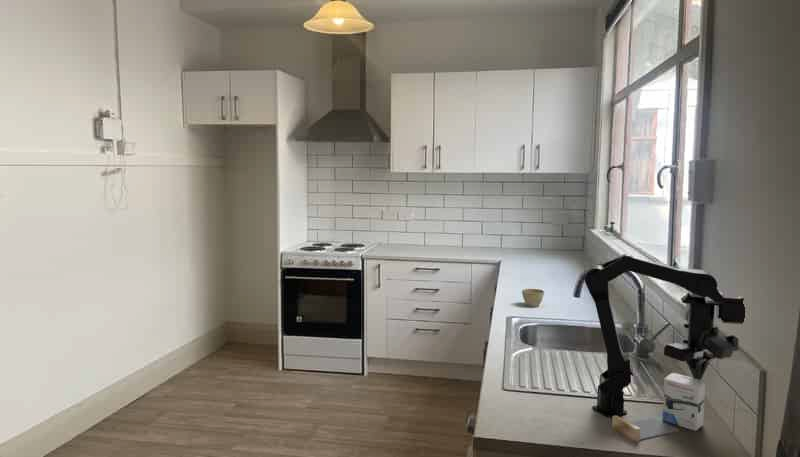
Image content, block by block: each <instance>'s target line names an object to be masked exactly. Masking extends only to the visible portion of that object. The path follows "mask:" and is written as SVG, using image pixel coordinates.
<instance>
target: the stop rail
mask: <svg viewBox="0 0 800 457" xmlns="http://www.w3.org/2000/svg"><path fill="white" fill-rule="evenodd" d="M611 418H612V422H611V428H612V429H614V430H615V431H617V432H619V433H621V434H622V435H624V436H625V437H628V438H630V439H631V440H633V441H635V442H639V441H641V440H640V431H641V428H639V427H637V426H635V425H633V424H631V423H630V421H628V420H625V419H624V418H622V417H620V416H619V415H616V416H612V417H611Z"/></svg>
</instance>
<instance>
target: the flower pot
mask: <svg viewBox="0 0 800 457" xmlns="http://www.w3.org/2000/svg"><path fill="white" fill-rule="evenodd" d="M521 294H522V298H523V300H524V303H525V305H526V306H527V307H529V308H537V307H539V306H540V304H541V303H542V301H543V297H544V296H545V295H544V294H545V291H544V290H542V289H539V288H524V289H522V290H521Z"/></svg>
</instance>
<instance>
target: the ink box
mask: <svg viewBox="0 0 800 457" xmlns="http://www.w3.org/2000/svg"><path fill="white" fill-rule="evenodd" d="M663 384H664V385H663V401H662V402H663V404H662V422H664V423H667V424H672V425H676V426H678V427H682V428H685V429H689V430H691V431H695V432H697V430H699V429H700V428H702V426H703V425H704V415H705V414H704V410H705V392H706V389H705V388H706V382H705V380H702V379H701V380H698V379H695V378H694V377H691V376H688V375H683V374H679V373H676V372H671V373H670V374H668V375H667V376H666V377H664V380H663Z"/></svg>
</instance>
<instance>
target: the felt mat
mask: <svg viewBox="0 0 800 457" xmlns="http://www.w3.org/2000/svg"><path fill="white" fill-rule="evenodd" d="M629 422H630V421H629ZM630 423H631V424H633V425H635V426H637V427H639V428H641V431H640V441H643V440H649V439H652V438H656V437H661V436H664V435H670V434H673V433H677V432H680V429H678V428H676V427H674V426H672V425H670V424H669V423H667V422H665V421H663V420H660V419H659V418H656V417H650V418H646V419H640V420H636V421H632V422H630Z"/></svg>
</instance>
